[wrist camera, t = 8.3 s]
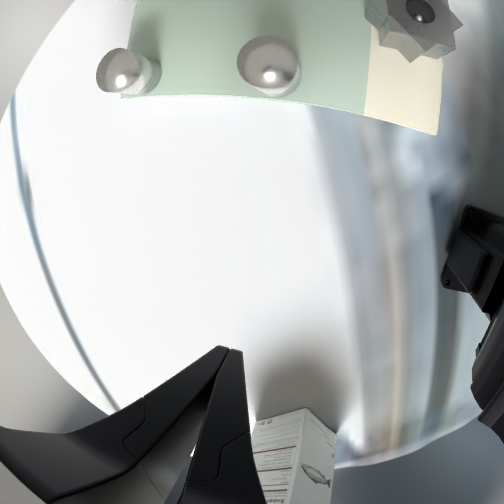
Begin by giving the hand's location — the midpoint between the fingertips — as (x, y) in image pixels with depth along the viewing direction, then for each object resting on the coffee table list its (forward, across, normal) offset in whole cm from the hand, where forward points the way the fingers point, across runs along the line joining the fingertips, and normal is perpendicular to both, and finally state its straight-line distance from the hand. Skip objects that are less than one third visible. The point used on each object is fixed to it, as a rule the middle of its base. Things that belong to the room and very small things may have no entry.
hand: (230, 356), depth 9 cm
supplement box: (+12, -6, +23) cm, 27 cm away
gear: (+11, -6, -16) cm, 21 cm away
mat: (+12, +2, -16) cm, 20 cm away
